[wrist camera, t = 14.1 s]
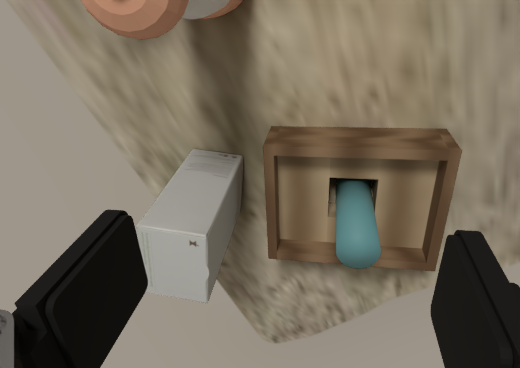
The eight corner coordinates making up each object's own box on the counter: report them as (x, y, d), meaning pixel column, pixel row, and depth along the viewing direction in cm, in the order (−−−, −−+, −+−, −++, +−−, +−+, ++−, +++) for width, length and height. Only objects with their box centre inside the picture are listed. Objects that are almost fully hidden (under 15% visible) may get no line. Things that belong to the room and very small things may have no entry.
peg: (371, 171, 42) (383, 235, 32) (368, 200, 44) (378, 270, 34) (336, 170, 43) (337, 232, 33) (335, 198, 45) (334, 266, 34)
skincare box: (193, 146, 45) (131, 221, 31) (248, 154, 44) (209, 234, 30) (193, 205, 49) (139, 294, 35) (243, 214, 48) (207, 307, 35)
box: (446, 128, 39) (462, 150, 34) (424, 240, 45) (434, 271, 40) (271, 126, 42) (263, 146, 37) (275, 230, 48) (268, 258, 44)
